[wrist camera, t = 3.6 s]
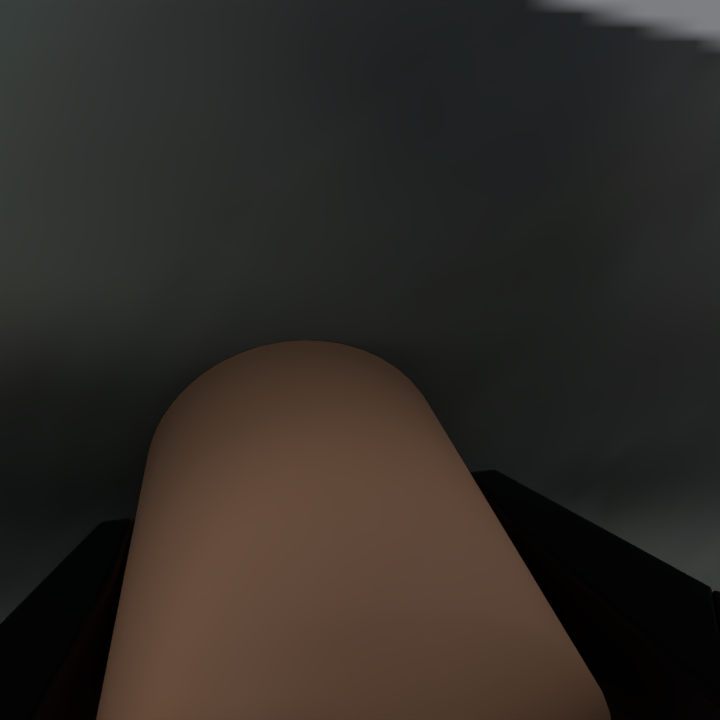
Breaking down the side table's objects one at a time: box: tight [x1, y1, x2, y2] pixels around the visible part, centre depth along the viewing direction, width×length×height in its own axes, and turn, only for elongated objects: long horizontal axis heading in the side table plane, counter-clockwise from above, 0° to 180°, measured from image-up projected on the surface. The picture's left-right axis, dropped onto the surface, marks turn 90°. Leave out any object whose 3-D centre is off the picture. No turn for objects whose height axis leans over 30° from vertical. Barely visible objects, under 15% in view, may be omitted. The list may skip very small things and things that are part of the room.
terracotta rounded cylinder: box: [96, 340, 611, 720], centre depth 8 cm, size 4×4×5 cm
